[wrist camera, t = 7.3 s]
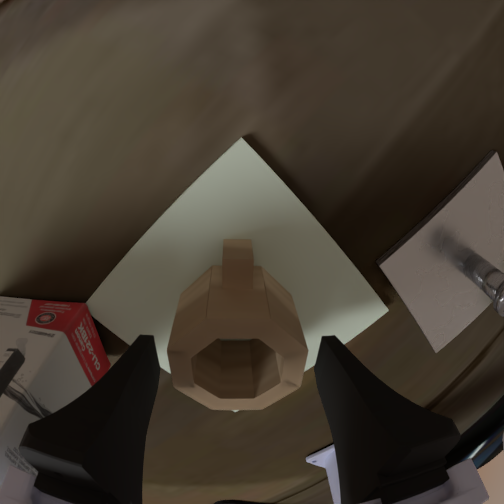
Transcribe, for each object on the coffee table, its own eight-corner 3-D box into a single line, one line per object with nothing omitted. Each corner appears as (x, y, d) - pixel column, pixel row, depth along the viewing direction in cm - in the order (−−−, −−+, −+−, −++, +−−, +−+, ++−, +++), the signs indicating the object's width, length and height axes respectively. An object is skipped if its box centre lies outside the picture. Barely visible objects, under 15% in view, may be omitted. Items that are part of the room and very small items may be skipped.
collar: (283, 351, 16) (295, 407, 13) (186, 351, 16) (178, 408, 12) (297, 240, 14) (320, 286, 10) (176, 238, 13) (156, 285, 10)
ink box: (87, 298, 14) (-27, 488, 3) (113, 365, 16) (48, 534, 5) (-6, 292, 14) (-105, 409, 4) (21, 349, 16) (-52, 467, 6)
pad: (385, 305, 16) (388, 310, 16) (235, 406, 19) (235, 412, 19) (241, 137, 12) (241, 137, 12) (85, 302, 15) (82, 307, 14)
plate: (521, 261, 16) (558, 289, 12) (433, 348, 18) (461, 391, 14) (491, 150, 12) (547, 168, 8) (375, 261, 15) (416, 310, 11)
